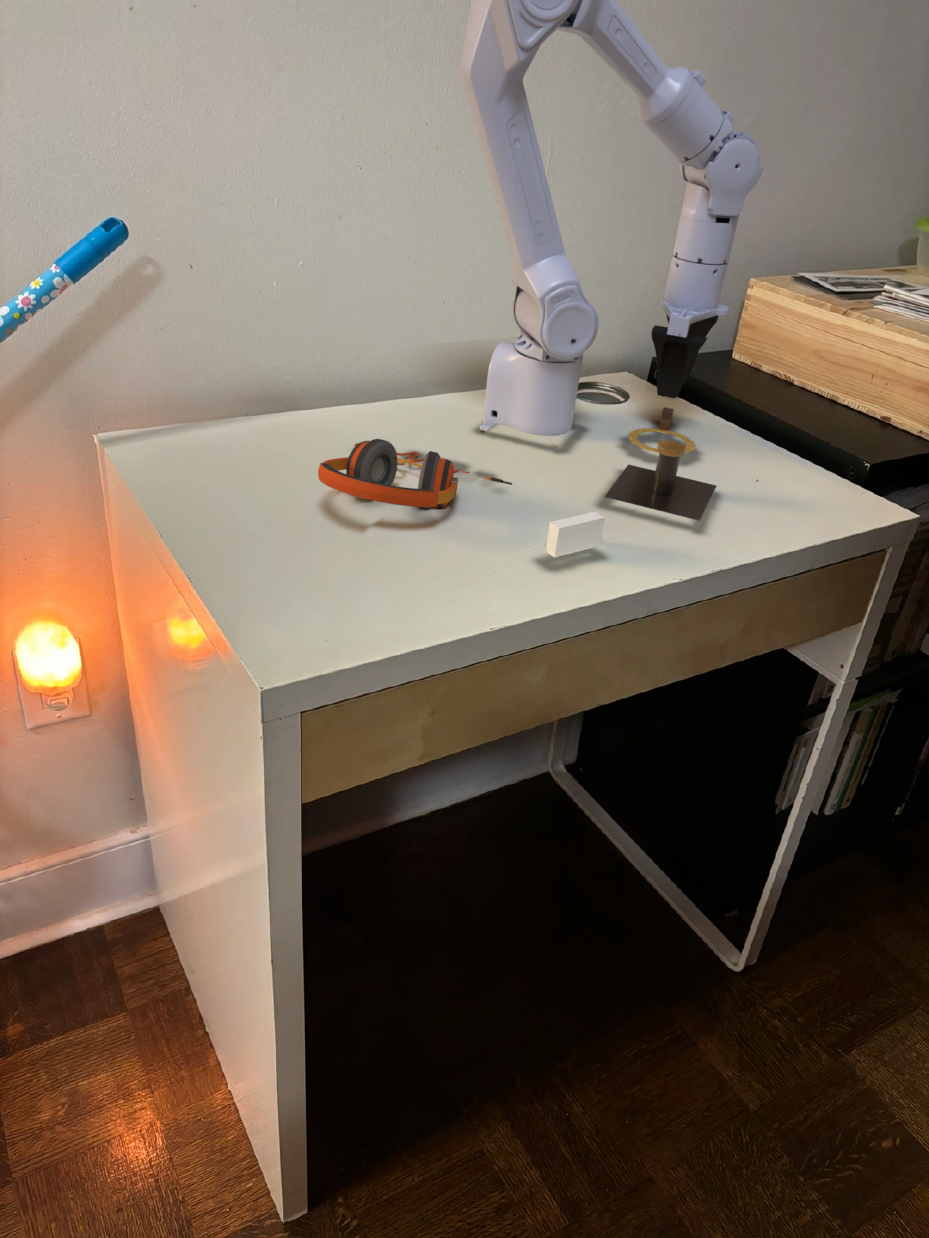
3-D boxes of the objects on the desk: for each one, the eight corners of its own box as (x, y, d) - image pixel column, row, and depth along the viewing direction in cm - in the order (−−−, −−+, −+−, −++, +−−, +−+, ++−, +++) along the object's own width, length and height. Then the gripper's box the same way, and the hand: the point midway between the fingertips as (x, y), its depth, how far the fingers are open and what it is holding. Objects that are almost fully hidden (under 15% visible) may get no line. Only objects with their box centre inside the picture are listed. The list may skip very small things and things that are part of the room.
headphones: (364, 466, 95) (265, 497, 77) (371, 415, 94) (271, 434, 76) (517, 504, 91) (451, 546, 73) (528, 451, 90) (463, 481, 71)
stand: (602, 506, 87) (612, 450, 84) (626, 473, 94) (636, 420, 91) (697, 530, 84) (711, 473, 81) (714, 494, 91) (727, 441, 88)
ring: (691, 467, 97) (695, 449, 96) (623, 455, 98) (626, 437, 97) (696, 429, 106) (700, 413, 105) (634, 419, 108) (637, 402, 107)
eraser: (543, 560, 77) (549, 521, 75) (588, 549, 79) (595, 511, 77) (552, 567, 76) (559, 528, 74) (597, 556, 78) (605, 517, 76)
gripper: (731, 278, 89) (699, 413, 96) (745, 253, 101) (716, 375, 108) (659, 266, 91) (633, 399, 98) (681, 243, 102) (657, 364, 110)
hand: (672, 386), depth 103 cm, fingers open, 7 cm apart
